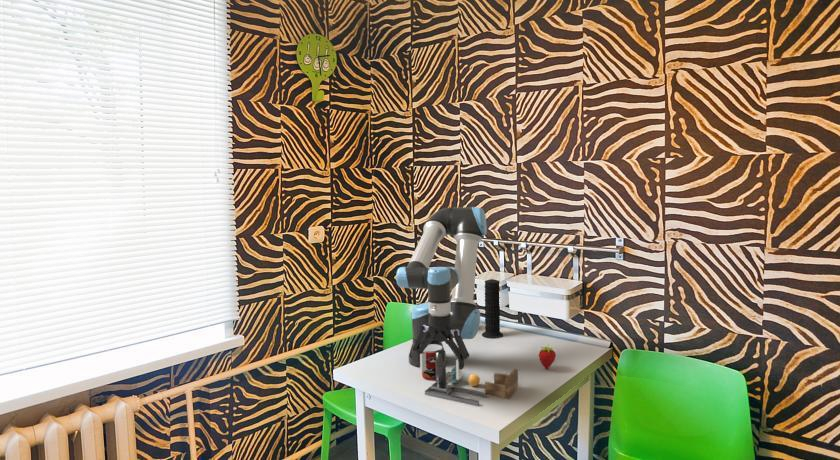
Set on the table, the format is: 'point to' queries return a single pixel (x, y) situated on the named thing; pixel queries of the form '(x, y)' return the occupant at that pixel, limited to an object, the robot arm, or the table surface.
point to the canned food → (431, 361)
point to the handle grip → (492, 310)
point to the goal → (503, 385)
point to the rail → (455, 398)
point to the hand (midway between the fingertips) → (440, 374)
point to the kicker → (443, 374)
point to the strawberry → (547, 356)
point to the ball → (474, 380)
